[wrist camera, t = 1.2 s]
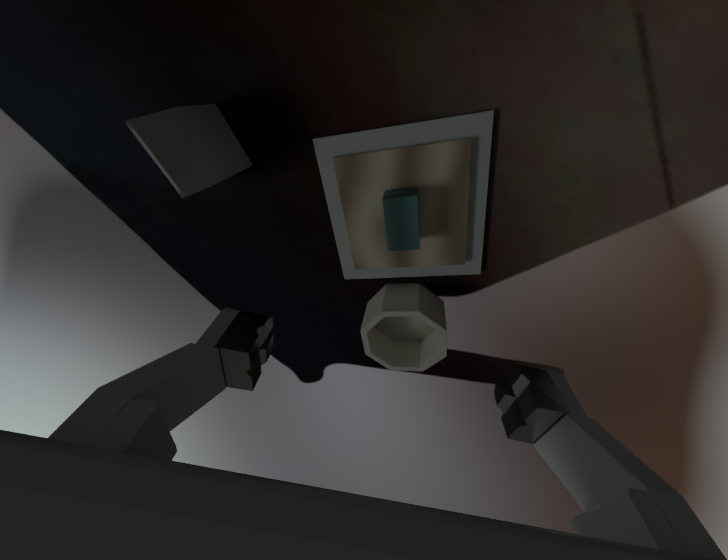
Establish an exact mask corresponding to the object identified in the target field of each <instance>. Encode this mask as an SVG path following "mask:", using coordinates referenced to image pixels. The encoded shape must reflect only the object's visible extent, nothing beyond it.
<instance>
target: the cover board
mask: <svg viewBox="0 0 728 560" xmlns="http://www.w3.org/2000/svg"><path fill="white" fill-rule="evenodd" d="M470 152H471V138H463V139H456V140H449V141H442V142H435V143H428V144H420V145H413V146H406V147H399V148H392V149H385V150H378V151H371V152H364V153H357V154H350V155H343V156H336V157H333V158H332V159H333V164H334V169H335V174H336V179H337V184H338V189H339V194H340V199H341V204H342V208H343V213H344V218H345V223H346V228H347V233H348V238H349V243H350V248H351V253H352V258H353V263H354V268H355V270H356V269H378V268H399V267H421V266H443V265H465V262H466V240H467V218H468V196H469V174H470Z"/></svg>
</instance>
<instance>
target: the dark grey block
mask: <svg viewBox="0 0 728 560" xmlns="http://www.w3.org/2000/svg"><path fill="white" fill-rule="evenodd" d="M127 121H128V122H125V123H126V124H127V126H128V127H129V128H130V130H131V131H132V132H133V134H134V135H135V136H136V138H137V139H138V140H139V141H140V143H141V144H142V145H143V147H144V148H145V149H146V151H147V152H148V153H149V155H150V156H151V157H152V159H153V160H154V161H155V162H156V164H157V165H158V166H159V168H160V169H161V170H162V172H163V173H164V174H165V176H166V177H167V178H168V179H169V181H170V182H171V183H172V185H173V186H174V187H175V189H176V190H177V191H178V193H179V194H180V195H181V197H182V198H185V197H187V196H189V195H192V194H194V193H197V192H200V191H202V190H204V189H206V188H208V187H210V186H212V185H215V184H217V183H219V182H221V181H223V180H225V179H227V178H230V177H232V176H233V175H235V174H237V173H239V172H241V171H243V170H245V169H246V168H248V167H250V166H252V163H251V161H250V160H249V158H248V156H247V155H246V153H245V151H244V150H243V148H242V147H241V145H240V143H239V142H238V140H237V138H236V137H235V135H234V133H233V132H232V130H231V128H230V127H229V125H228V123H227V122H226V120H225V118H224V117H223V115H222V113H221V112H220V110H219V109H218V107H217V105H216V104H209V105H196V106H183V107H175V108H172V109H168V110H164V111H161V112H157V113H154V114H150V115H147V116H143V117H139V118H135V119H130V120H127Z"/></svg>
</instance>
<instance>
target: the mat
mask: <svg viewBox="0 0 728 560" xmlns="http://www.w3.org/2000/svg"><path fill="white" fill-rule="evenodd" d="M493 115H494V110H490V111H483V112H477V113H471V114H465V115H458V116H452V117H446V118H439V119H433V120H427V121H421V122H414V123H408V124H402V125H396V126H389V127H383V128H377V129H371V130H364V131H358V132H352V133H345V134H339V135H333V136H327V137H320V138H314V139H313V143H314V148H315V152H316V157H317V161H318V165H319V170H320V174H321V178H322V183H323V187H324V191H325V196H326V200H327V204H328V209H329V213H330V217H331V222H332V226H333V231H334V235H335V239H336V244H337V248H338V252H339V257H340V261H341V265H342V270H343V274H344V278H345V279H364V278H390V277H416V276H442V275H469V274H481V263H482V250H483V238H484V226H485V213H486V201H487V189H488V176H489V164H490V152H491V140H492V127H493ZM463 138H471V152H470V174H469V196H468V218H467V240H466V262H465V265H443V266H421V267H399V268H378V269H356V270H355V268H354V263H353V258H352V253H351V248H350V243H349V238H348V233H347V228H346V223H345V218H344V213H343V208H342V204H341V199H340V194H339V189H338V184H337V179H336V174H335V169H334V164H333V159H332V158H333V157H336V156H343V155H350V154H357V153H364V152H371V151H378V150H385V149H392V148H399V147H406V146H413V145H420V144H428V143H435V142H442V141H449V140H456V139H463Z"/></svg>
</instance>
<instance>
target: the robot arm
mask: <svg viewBox="0 0 728 560" xmlns="http://www.w3.org/2000/svg"><path fill="white" fill-rule="evenodd" d="M272 326H273V319H272V318H271V317H269V316H264V315H259V314H255V313H250V312H246V311H240V310H235V309H230V308H225V309H223V310H222V311H221V312H220V313H219V315H218V316H217V317H216V319H215V320H214V321H213V322H212V324H211V325H210V326H209V327H208V329H207V330H206V331H205V333H204V334H203V335H202V336H201V337H200V339H199V340H198V341H197V343H196V344H192V343H190V344H188V345H186V346H184V347H182V348H180V349H178V350H175V351H173V352H172V353H169V354H167V355H165V356H163V357H161V358H159V359H157V360H155V361H153V362H151V363H149V364H147V365H144V366H142V367H140V368H138V369H136V370H134V371H132V372H130V373H128V374H126V375H124V376H122V377H120V378H118V379H116V380H114V381H111V382H109V383H107V384H105V385H103V386H101V387H99V388H98V389H96V391H94V393H92V394H91V396H90V397H89V398H87V399H86V400H85V402H83V403H82V404H81V405H80V406H79V408H77V409H76V410H75V412H74V413H73V414H71V416H69V417H68V419H66V421H65V422H63V424H61V425H60V426H59V427H58V428H57V430H55V431H54V432H53V434H51V435H50V437H49V438H42V437H37V436H31V435H26V434H20V433H14V432H9V431H4V430H0V560H727V559H726V558H725V556H724V555H723V554H722V552H721V551H720V549H719V548H718V546H717V545H716V543H715V542H714V541H713V539H712V538H711V536H710V535H709V534H708V532H707V531H706V529H705V528H704V526H703V525H702V523H701V522H700V521H699V519H698V518H697V516H696V515H695V513H694V512H693V511H692V509H691V508H690V506H689V505H688V504H687V502H686V501H685V499H684V498H683V497H682V496H681V495H680V494H679V493H678V492H677V491H676V490H674V489H673V488H672V487H671V486H670V485H669V484H668V483H666V482H665V481H664V480H663V479H662V478H661V477H659V476H658V475H657V474H656V473H655V472H654V471H652V470H651V469H650V468H649V467H648V466H647V465H645V464H644V463H643V462H642V461H641V460H640V459H639V458H637V457H636V456H635V455H634V454H633V453H632V452H630V451H629V450H628V449H627V448H626V447H624V445H622V444H621V443H620V442H619V441H618V440H617V439H615V438H614V437H613V436H612V435H611V434H610V433H609V432H607V431H606V430H605V429H604V428H603V427H601V426H600V425H599V424H598V423H597V422H596V421H595V420H594V419H590V418H588V417H587V415H586V413H585V412H584V410H583V408H582V407H581V405H580V403H579V402H578V400H577V398H576V396H575V395H574V393H573V391H572V390H571V388H570V386H569V384H568V383H567V381H566V379H565V378H564V376H563V375H562V374H561V373H560V372H559V371H554V370H549V369H542V368H538V367H532V366H527V365H521V364H516V363H512V364H510V365H509V366H508V367H507V369H506V373H507V375H505V376H503V377H501V378H499V380H498V381H497V383H496V385H495V391H494V393H495V400H496V403H497V406H498V407H499V408H500V409H501V410H502V411H503V415H502V418H501V419H502V422H503V425H504V428H505V432H506V435H507V438H508V439H513V440H517V441H522V442H527V443H531V444H534V445H533V446H534V447H535V448H536V450H537V451H538V452H539V453H540V455H541V456H542V457H543V459H544V460H545V461H546V462H547V464H548V465H549V466H550V468H551V469H552V470H553V471H554V473H555V474H556V475H557V477H558V478H559V479H560V481H561V482H562V483H563V484H564V486H565V487H566V488H567V490H568V491H569V492H570V494H571V495H572V496H573V497H574V499H575V500H576V501H577V502H578V504H579V505H580V506H581V508H582V509H583V510H584V513H582V514H580V515H578V516H577V517H575V518H573V520H572V522H571V523H572V525H573V528H574V530H575V533H576V534H573V533H567V532H562V531H556V530H551V529H545V528H540V527H534V526H528V525H523V524H518V523H512V522H506V521H501V520H496V519H490V518H485V517H479V516H474V515H468V514H463V513H457V512H451V511H446V510H440V509H435V508H429V507H424V506H418V505H413V504H407V503H402V502H396V501H390V500H385V499H380V498H374V497H368V496H363V495H358V494H352V493H347V492H341V491H336V490H330V489H324V488H319V487H314V486H308V485H302V484H297V483H291V482H286V481H280V480H275V479H268V478H264V477H258V476H253V475H247V474H241V473H236V472H231V471H225V470H219V469H213V468H208V467H203V466H197V465H191V464H186V463H181V462H175V461H172V459H173V457H174V455H175V454H176V452H177V449H176V445H175V443H174V441H173V439H172V436H171V435H170V431H171V430H172V429H173V428H175V427H176V426H177V425H179V424H180V423H181V422H183V421H184V420H185V419H187V418H188V417H189V416H191V415H192V414H193V413H194V412H196V411H197V410H198V409H200V408H201V407H202V406H204V405H205V404H206V403H207V402H209V401H210V400H211V399H213V398H214V397H215V396H216V395H218V394H219V393H220V392H222V391H223V390H224V389H225V388H226V387H231V388H237V389H244V390H251V391H253V389H254V387H255V385H256V383H257V381H258V379H259V377H260V374H261V365H263V364H264V363H266V362H267V360H268V358H269V355H270V352H271V349H272V345H273V334H272V333H271V332H270V330H271V328H272Z"/></svg>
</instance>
